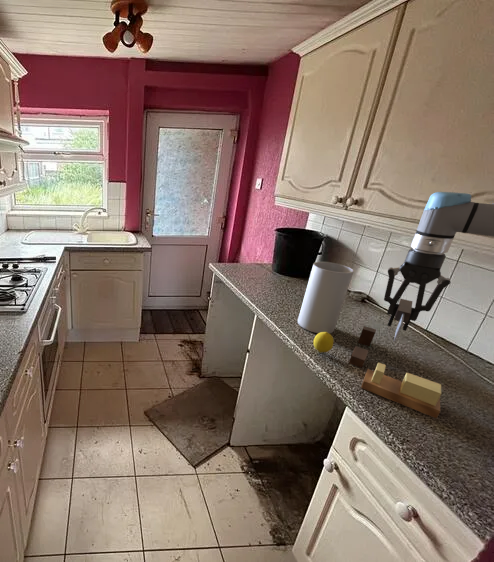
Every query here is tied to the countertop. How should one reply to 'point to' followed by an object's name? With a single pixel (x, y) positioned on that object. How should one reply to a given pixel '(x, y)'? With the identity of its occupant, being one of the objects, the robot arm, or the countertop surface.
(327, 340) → the lemon
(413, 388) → the butter
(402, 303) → the knife
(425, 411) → the board
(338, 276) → the cylinder vase
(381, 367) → the butter slice
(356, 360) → the knife stand
